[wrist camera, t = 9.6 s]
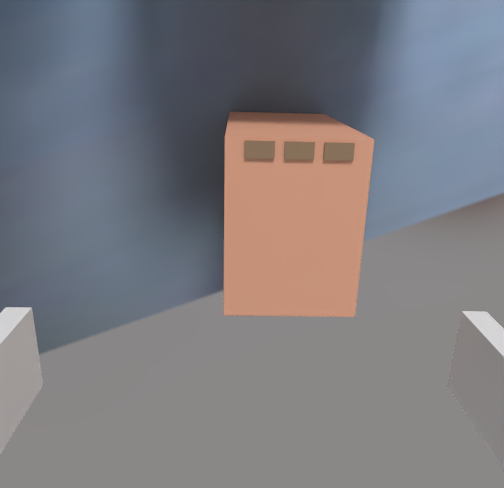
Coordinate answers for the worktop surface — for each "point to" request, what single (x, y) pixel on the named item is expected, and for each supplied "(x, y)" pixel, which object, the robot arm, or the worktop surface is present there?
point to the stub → (293, 214)
